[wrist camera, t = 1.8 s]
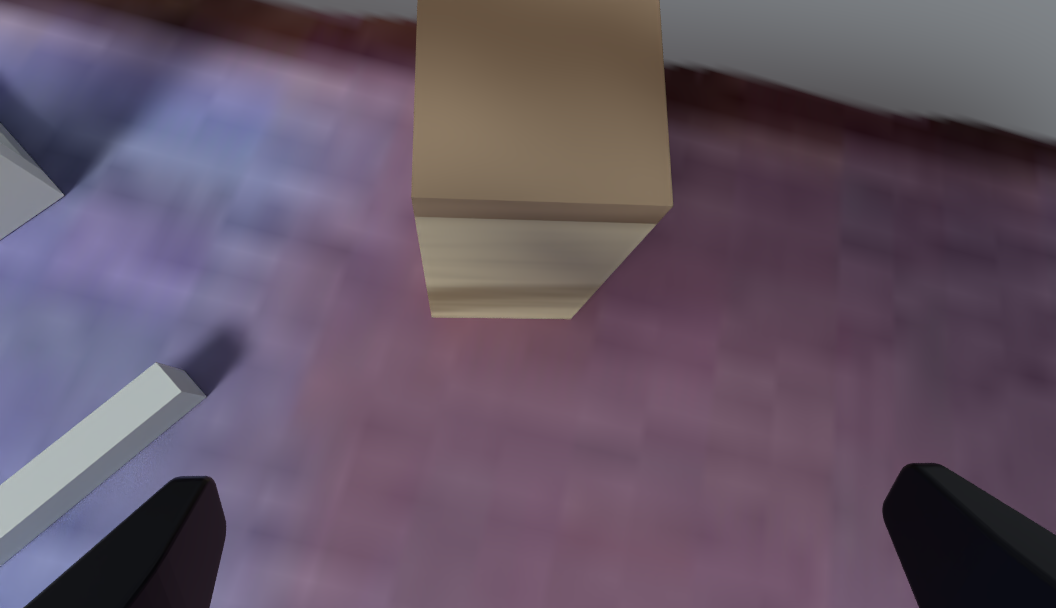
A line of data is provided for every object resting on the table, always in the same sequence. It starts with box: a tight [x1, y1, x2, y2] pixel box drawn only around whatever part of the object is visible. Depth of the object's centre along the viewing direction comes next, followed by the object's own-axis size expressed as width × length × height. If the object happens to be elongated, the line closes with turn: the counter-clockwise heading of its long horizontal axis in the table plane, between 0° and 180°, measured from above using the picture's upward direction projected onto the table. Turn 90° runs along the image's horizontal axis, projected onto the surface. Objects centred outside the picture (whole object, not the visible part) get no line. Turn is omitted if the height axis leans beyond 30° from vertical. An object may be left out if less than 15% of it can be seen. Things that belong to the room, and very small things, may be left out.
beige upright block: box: [411, 0, 673, 319], centre depth 18 cm, size 6×5×11 cm
